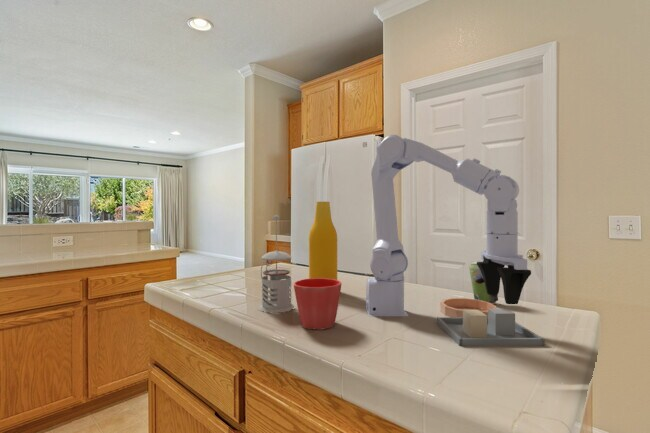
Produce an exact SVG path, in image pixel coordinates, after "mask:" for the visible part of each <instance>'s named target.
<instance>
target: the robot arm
mask: <svg viewBox="0 0 650 433" xmlns="http://www.w3.org/2000/svg"><path fill="white" fill-rule="evenodd" d="M414 162H416V163H420V162H426V163H428V164H430V165H433V166H435V167H437V168H439V169H441V170H443V171H445V172H448V173H450V174H451V176H452V179H453V181H454V182H455V183H456V184H459V185H461V186H462V187H464V188H466V189H469V190H470V191H472V192H474V193H476V194H478V195H480V196H481V195H484V197H485V198H486V199H487V210H486V250H480V258H481V259H480V260H482V261H483V262H477V265H478V267H479V269H480V271H481V273H482V276H483V279H484V283H485V287H486V291H487V294H489V295H499V293H500V285H501V283H502V288H503V296H504V297H503V298H504V302H505V304H507V305H518V304H519V301H520V298H521V294H522V291H523V289H524V287H525V283H526V282H527V281H528V279H529V277H530V276H531V274H532V270H531V269H528V259H526V258H524V255H523V254H520V253H518V240H519V238H518V235H519V232H518V230H519V228H518V227H519V226H518V225H519V223H518V222H519V221H518V220H519V218H518V216H519V213H518V202H517V199H516V198H517V197H518V196H519V193H520V188H519V183H518V182H517V181H516V180H515V179H513V178H511V177H510V176H508V175H506V174H505V175H503V174H502V171H501V170H500V169H498V168H495V169H492V168H490V167H488V166H485V165H483V164H480V163H481V161H480V160H479V159H477V158H472V159H470V158H465V159H462V160H457V159H455V158H453V157H452V156H449V155H447V154H445V153H443V152H441V151H439V150H437V149H436V148H434V147H431V146H429V145H428V144H425V143H423V142H420V141H417V140H414V139H410V138H407V137H401V136H399V135H398V134H389V135H387V136H386V137H384V138H383V140H381V142H380V143H379V144H378V145H377V146H376V157H375V159H374V163H373V166H372V168H371V173H370V176H371V186H372V187H371V188H372V198H373V208H374V209H373V210H374V221H375V231H376V232H375V233H376V242H375V245H374V246H373V247H372V250H371V251H372V258H371V259H370V263H369V264H370V266H369V267H370V270H371V273H372V274H373V276H374V277H373V278H372V277H371V278H367V279H366V288H365V290H366V294H365V295H366V297H365V298H366V301H365V309H366V312H367V313H368V316H369V318H371V317H409V316H410V315H409V314H408V313H407V312H406V311H405V275H404V273H405V272H406V271H407V269H408V267H409V260H408V257H407V256H406V254H405V250H404V246H403V244H402V242H401V240H399V230H398V228H399V227H398V221H397V220H398V219H397V208H396V197H395V184H394V178H395V177H396V176H397V175H398V174H399V172H400V171H402V170H403V169H404V168H407V167H408V166H410V165H411V164H413V163H414ZM505 266H507V267H505Z"/></svg>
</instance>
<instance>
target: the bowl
mask: <svg viewBox="0 0 650 433" xmlns="http://www.w3.org/2000/svg"><path fill="white" fill-rule="evenodd" d="M439 307H440V313H441V314H443V315H444V316H445V317H463V310H479V311H481V312H482V313H484V314H485V315H487V317H488V309H497V305H495V304H491V303H489V302H485V301H481V300H477V299H474V298H468V297H450V298H445V299H444V298H443V299H442V300H441V302H440V306H439Z"/></svg>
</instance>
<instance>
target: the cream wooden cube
mask: <svg viewBox="0 0 650 433" xmlns="http://www.w3.org/2000/svg"><path fill="white" fill-rule="evenodd" d="M463 331H464V332H465V333H466V334H467V335H469V336H470V337H471V338H487V315H485V314H484V313H482V312H481V311H479V310H463Z"/></svg>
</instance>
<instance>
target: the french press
mask: <svg viewBox="0 0 650 433" xmlns="http://www.w3.org/2000/svg"><path fill="white" fill-rule="evenodd" d="M280 217H281V216H279V215H278V214H275V215H272V220H275V250H274V251H269V252H266V253H264V254H263V255H262V256H261V257H260V258H261V259H262V260H263V262H262V264H261V267H260V278H261V283H262V285H261V288H262V290H261V293H262V294H261V298H262V299H261V304H260V305H259V306H258V308H259V309H260V310H261V311H260V310H259V311H260V312H262V311H265V312H273V313H272V314H276V313H275V312H283V313H285V312H284V311H288V312H290V311H289V310H291V309H293V308H294V306H295V305H294V304H293V303H292V276H290V275H289V274H290V273H291V271H290V270H287V269H278V262H279V261H288V260H291V259H292V255H290V254H288V253H287V252H285V251H279V250H278V229H277V228H278V226H277V225H278V220H280V219H281V218H280ZM267 261H268V262H267ZM273 261H274V262H275V269H268V267H271V265H272V263H273ZM269 263H270V264H269ZM264 264H265V265H266V267H265V270H264V271H263V266H264ZM262 271H263V272H262ZM263 275H265V276H263ZM269 276H270V278H269ZM269 289H270V290H269ZM294 309H295V308H294ZM294 309H293V310H294ZM291 311H292V310H291ZM265 312H264V313H265Z"/></svg>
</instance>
